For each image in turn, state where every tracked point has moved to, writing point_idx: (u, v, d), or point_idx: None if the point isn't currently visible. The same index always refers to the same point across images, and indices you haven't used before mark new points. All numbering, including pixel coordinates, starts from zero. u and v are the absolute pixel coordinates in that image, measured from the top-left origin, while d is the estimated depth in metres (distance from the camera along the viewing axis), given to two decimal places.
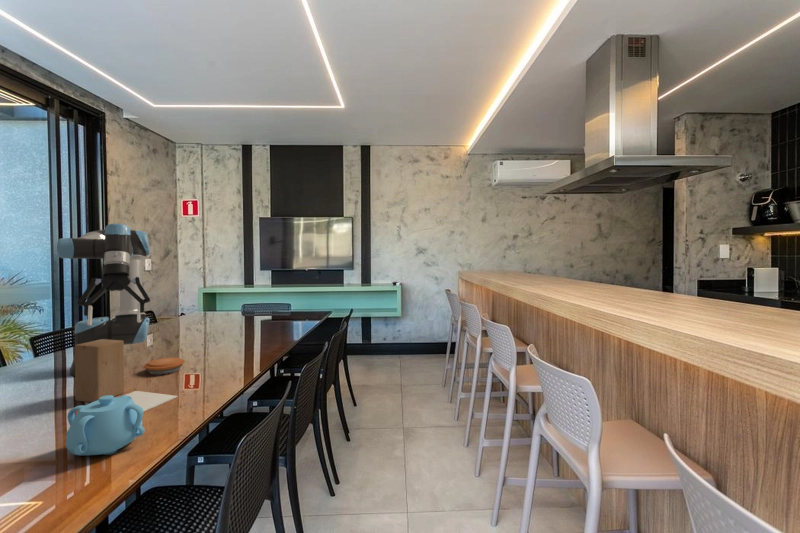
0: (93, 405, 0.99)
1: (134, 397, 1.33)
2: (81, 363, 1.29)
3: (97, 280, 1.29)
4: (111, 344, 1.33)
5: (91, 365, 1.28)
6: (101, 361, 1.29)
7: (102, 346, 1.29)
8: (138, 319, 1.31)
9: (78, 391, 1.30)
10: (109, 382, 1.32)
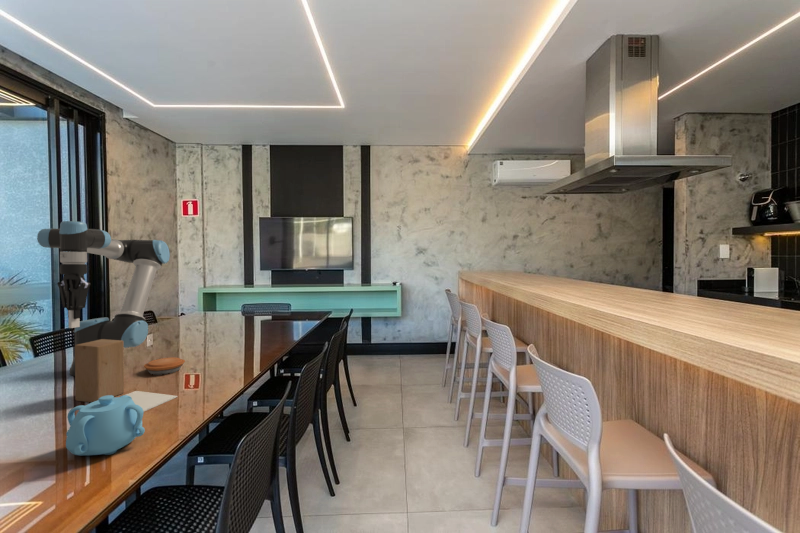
0: (93, 405, 0.99)
1: (134, 397, 1.33)
2: (81, 363, 1.29)
3: (62, 282, 1.36)
4: (111, 344, 1.33)
5: (91, 365, 1.28)
6: (101, 361, 1.29)
7: (102, 346, 1.29)
8: (70, 326, 1.35)
9: (78, 391, 1.30)
10: (109, 382, 1.32)
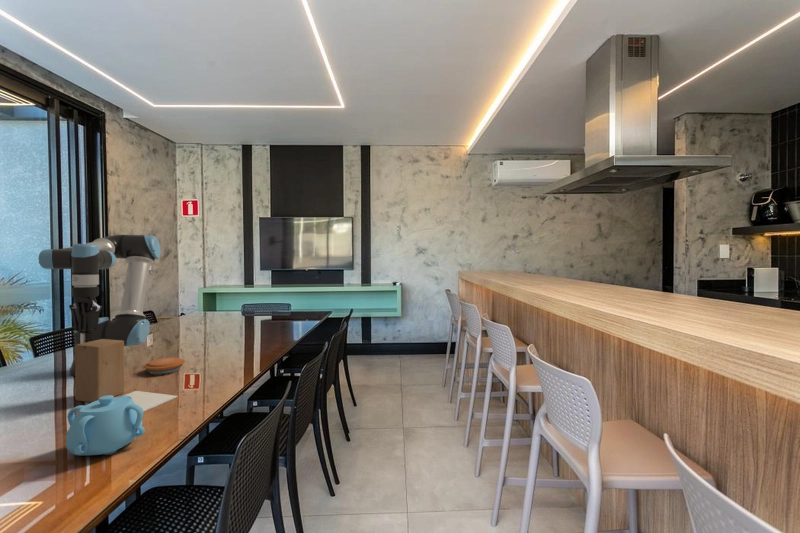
0: (93, 405, 0.99)
1: (134, 397, 1.33)
2: (82, 363, 1.29)
3: (74, 305, 1.35)
4: (111, 344, 1.33)
5: (91, 365, 1.28)
6: (102, 361, 1.29)
7: (103, 346, 1.29)
8: None
9: (78, 391, 1.30)
10: (109, 382, 1.32)
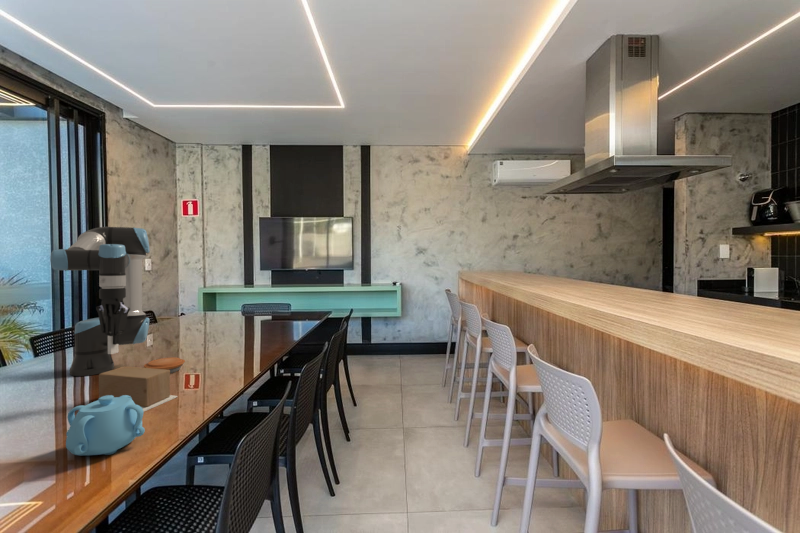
0: (93, 405, 0.99)
1: None
2: (130, 386, 1.25)
3: (101, 306, 1.32)
4: (158, 401, 1.29)
5: None
6: None
7: None
8: (110, 352, 1.30)
9: (106, 379, 1.27)
10: None
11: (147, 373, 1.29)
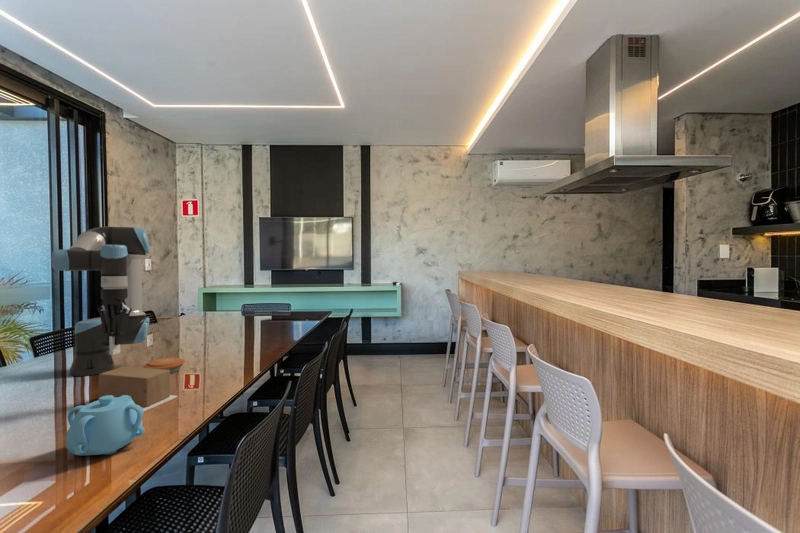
0: (93, 405, 0.99)
1: None
2: (130, 386, 1.25)
3: (102, 307, 1.32)
4: (158, 401, 1.29)
5: None
6: None
7: None
8: (112, 353, 1.30)
9: (106, 379, 1.27)
10: None
11: (147, 373, 1.29)
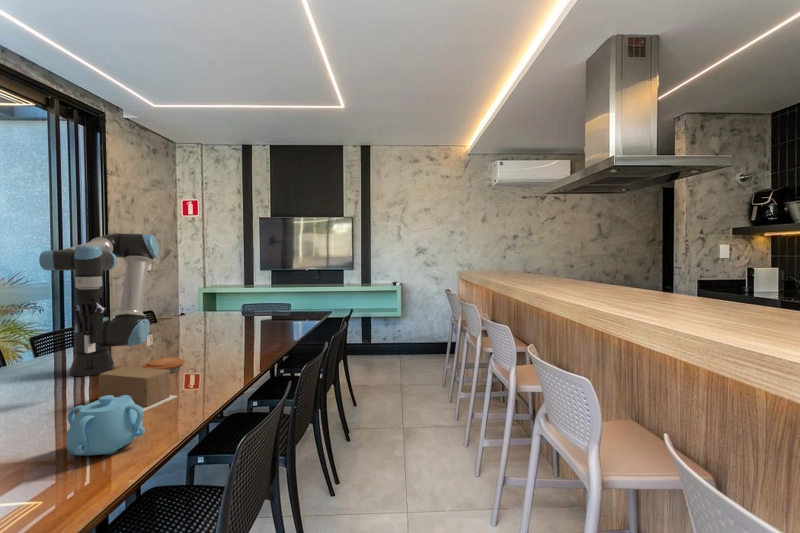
0: (93, 405, 0.99)
1: None
2: (130, 386, 1.25)
3: (77, 306, 1.35)
4: (158, 401, 1.29)
5: None
6: None
7: None
8: (87, 351, 1.34)
9: (106, 379, 1.27)
10: None
11: (147, 373, 1.29)
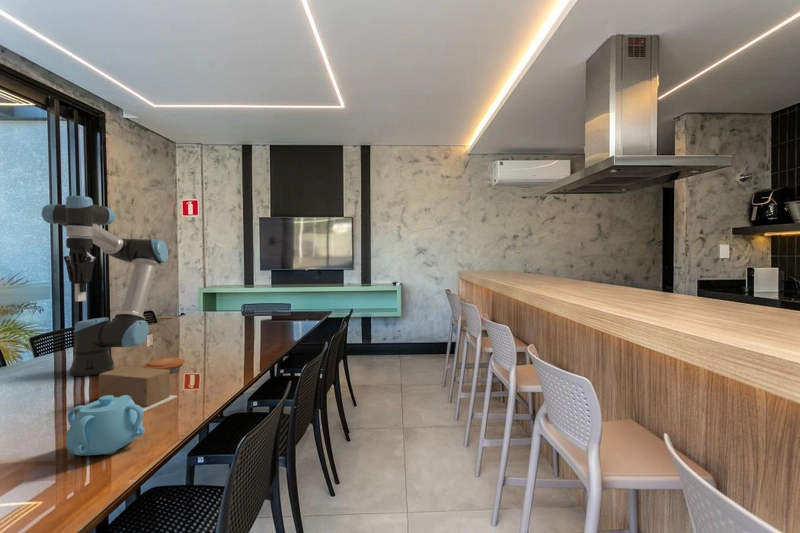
0: (93, 405, 0.99)
1: None
2: (130, 386, 1.25)
3: (68, 256, 1.38)
4: (158, 401, 1.29)
5: None
6: None
7: None
8: (77, 299, 1.37)
9: (106, 379, 1.27)
10: None
11: (147, 373, 1.29)
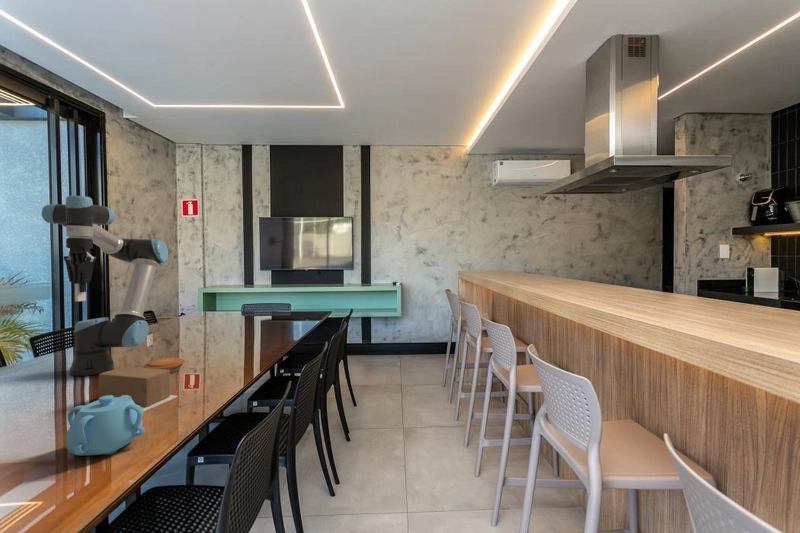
0: (93, 405, 0.99)
1: None
2: (130, 386, 1.25)
3: (68, 256, 1.38)
4: (158, 401, 1.29)
5: None
6: None
7: None
8: (77, 299, 1.37)
9: (106, 379, 1.27)
10: None
11: (147, 373, 1.29)
